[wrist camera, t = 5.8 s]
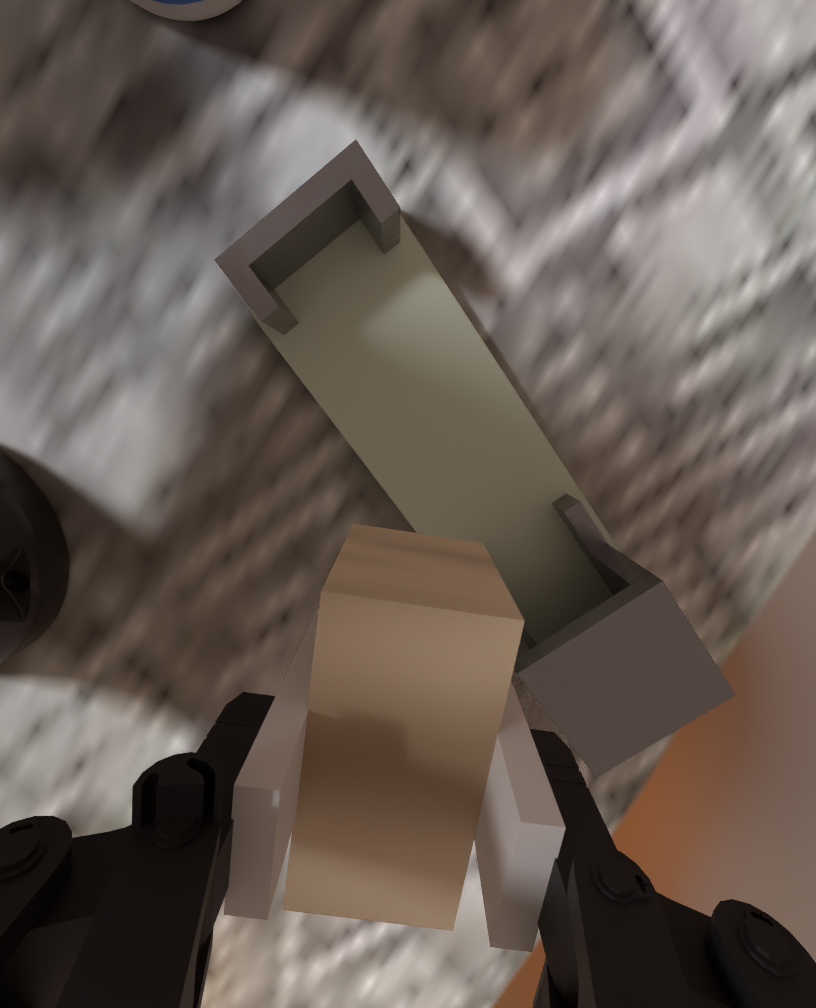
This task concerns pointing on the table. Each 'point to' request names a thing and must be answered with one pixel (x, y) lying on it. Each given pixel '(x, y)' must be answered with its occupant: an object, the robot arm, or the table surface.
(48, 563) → the robot arm
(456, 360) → the board
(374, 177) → the cap
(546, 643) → the cap
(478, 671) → the brown block
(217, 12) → the supplement tub
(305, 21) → the table surface
